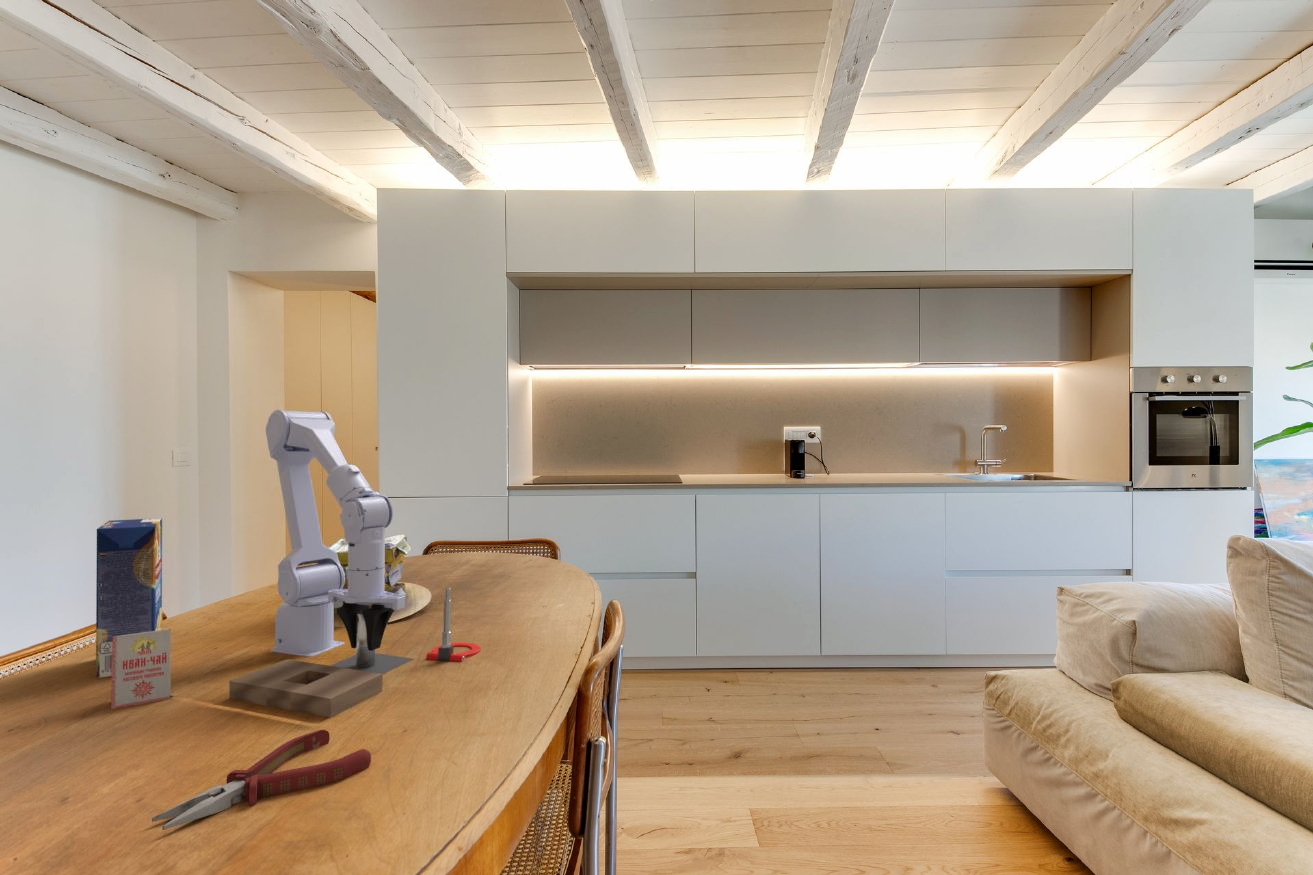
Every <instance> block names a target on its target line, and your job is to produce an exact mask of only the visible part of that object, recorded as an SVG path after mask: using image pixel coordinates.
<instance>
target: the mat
mask: <svg viewBox="0 0 1313 875" xmlns="http://www.w3.org/2000/svg"><path fill="white" fill-rule="evenodd" d="M411 661H414V658H411V657H405V656H396V655H389V654H384V653H383V654H382V653H376V652H375V665H374V666H373V667H370V668H357V667H356V654H354V655H352V656H350V657H348V658H345V659H342V660H340V661H338V662H335V663H333V664H331V665H329V666H334V667H341V668H347V669H353V670H360V671H366V672H373V673H379V674H382V675H384V674H386V673H388V672H390V671H392V670H394V669H396V668H399V667H401V666H402V665H405V664H407V663H409V662H411Z"/></svg>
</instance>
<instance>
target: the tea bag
mask: <svg viewBox="0 0 1313 875" xmlns="http://www.w3.org/2000/svg"><path fill="white" fill-rule="evenodd" d="M171 630H172V629H171V628H167V629H162V630H158V631H151V632H143V633H136V634H128V635H121V636H113V642H112V670H111V676H110V677H111V679H110V680H111V681H110V682H111V683H110V686H111V689H110V690H111V694H110V695H111V696H110V697H111V698H110V701H111V702H110V707H111V709H110V710H118V709H122V708H123V709H124V708H129V707H132V706H133V707H134V706H139V705H145V704H151V703H154V702H155V703H156V702H161V701H166V700H170V699H171V664H172V663H171V662H172V661H171V660H172V659H171V658H172V657H171V648H172V647H171V645H172V644H171V641H172V640H171V637H172V636H171Z"/></svg>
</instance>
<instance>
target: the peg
mask: <svg viewBox="0 0 1313 875" xmlns="http://www.w3.org/2000/svg"><path fill="white" fill-rule="evenodd" d="M375 653H376V649H375V650H373V651H369V650H368V646H367V629H366V624H365V620H364V617H363V615H362V611H359V612H357V613H356V648H355V655H356V667H357V668H370V667H373V666H374V665H375Z"/></svg>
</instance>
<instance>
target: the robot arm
mask: <svg viewBox="0 0 1313 875" xmlns="http://www.w3.org/2000/svg"><path fill="white" fill-rule="evenodd" d="M265 426H266V427H265V436H266V440H267V446H268V451H269V456H270V458H271V459H273V460H275V461H276V466H277V470H278V471H277V472H278V477H279V481H280V482H279V483H280V487H281V488H280V489H281V494H282V495H281V496H282V500H283V506H284V512H285V517H286V523H287V524H286V525H287V528H288V529H287V530H288V535H289V542H290V546H291V548H290V549H291V551H290V552H289V553H288V554H287V555H285V557H284V558H283V559H282V560H281V561H280V562H279V563H278V565H277V570H278V571H277V572H278V579H277V591H278V592H277V593H278V594H279V597H280V598H281V600H282V601H283V602H282V603H281V604H280V605H279V606H278V608H277V611H276V612H275V613H276V614H275V620H274V621H275V622H274V625H275V626H274V631H275V632H274V636H275V637H274V648H271V649H270V652H271V653H280V654H286V655H287V654H288V655H295V656H300V657H307V658H312V657H314V656H315V657H316V656H317V655H320V654H323V653H325V652H327V651H331V650H333V649H336V648H338V647H340V646H343V645H345V642H344V641H339V640H334V639H335V638H334V634H335V633H334V631H335V630H334V628H335V627H334V602H342V603H343V605H342V607H339V608H337V614H338V615H339V616H340V618H341V620H342V621H343V623H344V625H345V627H344V628H345V631H346V632H347V636H348V639H349V640H348V641H349V643H350V647H351V649H356V613H357V612H359V611H362V615H363V617H364V620H365V624H366V629H367V646H368V650H369V651H373V650H375V651H376V650H377V649H379V648H381V644H382V640H383V639H384V638H383V636H384V634H385V630H386V628H387V625H388V623H389V622H388V621H389V619H390V617H391V615H392V613H393V612H394V610H399V609H402V608H404V607H405V596H401V595H397V594H393V593H390V592H387V591H384V578H385V537H386V529H387V528H388V527H389V526H390V525H391V523H392V521H393V515H394V514H393V513H394V512H393V506H392V503H391V501H390V499H389V497H387V495H384V494H380V493H379V492H378V491H374V490H373V488H372V487H371V485H370V483H369V482H368V480H366V478H365V476H364V474H363V473H362V472H361V470H360V469H359V467H358V466H357V465H354V464H348V462H347V460H346V458H345V456H344V454H343V452H342V450H341V449H340V446H339V445H338V444H339V443H338V442H337V441H336V438H335V431H336V424H335V422H334V420H333V418H332V416H331V414H329V412H327V411H324V410H323V411H321V410H320V411H304V410H303V411H302V410H300V411H299V410H297V411H295V410H283V409H275V410H273V412H271V414H270V415H269V418H268V420H267V422H266V425H265ZM314 459H316V460H317V461H318V463H319V464H320V465H321V467H322V468H323V469H324V470H325V471H326V473H327V474H328V475H327V478H326V481H325V483H326V486H327V487H328V489H329V490H330V492H331V494H332V495H333V497H334V499H335V500H336V501H337V503H338V505H339V506H340V508H341V513H340V516H339V517H340V521H341V525H342V528H343V530H344V531H343V532H344V538H345V540H346V542H348V589H343V586H344V583H345V573H344V570H343V568H342V566H341V565H340V562H339V559H338V555H337V553H336V552H335V551H333V550H331V549H329V548H328V547H329V546H326V545H324V543H323V542H324V541H323V536H322V533H321V531H322V530H321V527H320V520H319V516H318V509H317V505H316V504H317V503H316V497H315V494H314V486H313V482H312V477H311V476H312V475H311V470H310V463H311V461H312V460H314ZM369 606H371V608H369Z"/></svg>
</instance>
